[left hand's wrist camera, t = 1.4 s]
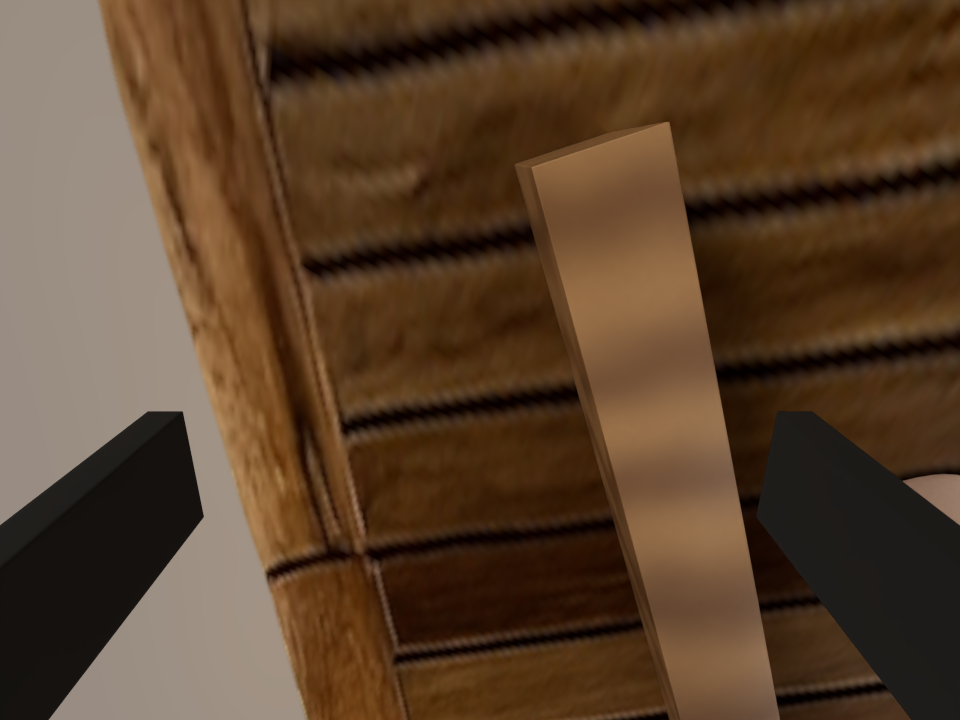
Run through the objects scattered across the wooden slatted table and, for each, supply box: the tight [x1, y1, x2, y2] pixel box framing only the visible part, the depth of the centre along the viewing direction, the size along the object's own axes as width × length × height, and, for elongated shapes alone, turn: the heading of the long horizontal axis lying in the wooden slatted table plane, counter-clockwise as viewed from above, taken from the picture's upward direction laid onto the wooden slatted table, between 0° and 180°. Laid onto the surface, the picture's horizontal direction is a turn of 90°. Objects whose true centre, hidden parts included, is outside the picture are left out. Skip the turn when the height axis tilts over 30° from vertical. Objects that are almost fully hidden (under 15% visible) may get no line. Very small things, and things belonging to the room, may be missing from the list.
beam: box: [514, 122, 780, 720], centre depth 32 cm, size 62×5×8 cm, turn 18°
